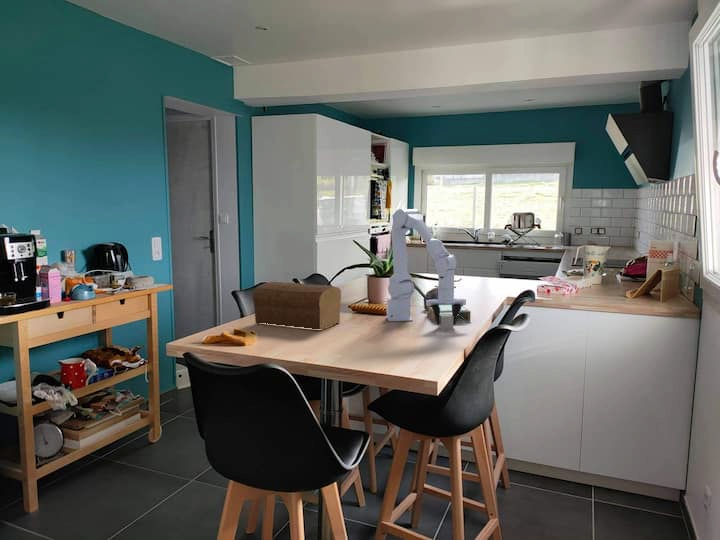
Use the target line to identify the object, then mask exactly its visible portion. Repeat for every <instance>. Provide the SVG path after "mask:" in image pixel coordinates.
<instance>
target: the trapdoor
mask: <svg viewBox="0 0 720 540" xmlns="http://www.w3.org/2000/svg"><path fill="white" fill-rule="evenodd" d="M442 304H443V303H442ZM464 307H465V306H463V307H462V306H461V310H460V311H459V312H467V310H466V309H467V308H466V307H465V308H466V309H465V308H464ZM439 308H440V314H452V305H439Z"/></svg>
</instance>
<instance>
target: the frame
mask: <svg viewBox="0 0 720 540" xmlns="http://www.w3.org/2000/svg"><path fill="white" fill-rule="evenodd" d="M461 306H462V307H464V308H465V309H466V310H467V312H459V313H458V314H459V315H458V316H460V317H461V318H462V317H463V318H464V319H463V318H462V319H463V320H465V321H466V322H467V321H470V322H471V317H472V316H471V313H472V312H471V310H469V309H468V308H466V307H465V306H464V305H461ZM426 314H427V317H428V318H429V319H430V320H431V321H432V322H433V323H435V322H436V318H435V315H434V312H433V310H432V307H431V305H430V306H427V309H426Z"/></svg>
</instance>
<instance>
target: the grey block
mask: <svg viewBox="0 0 720 540" xmlns="http://www.w3.org/2000/svg"><path fill="white" fill-rule="evenodd" d="M439 317H440V325H437V326H438V328H439V329H440V330H441V329H447V330H454V325H453V315H452V313H440V316H439Z"/></svg>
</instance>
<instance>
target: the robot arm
mask: <svg viewBox="0 0 720 540" xmlns="http://www.w3.org/2000/svg"><path fill="white" fill-rule="evenodd" d="M391 218H392V225H391V230H390V231H391V244H392V245H391V246H392V247H391V248H392V261H393V262H392V263H393V266H392V267H393V274H392V275H391V277H390V278H389V284H388V288H387V291H388V294H389V296H390V297H387V299H386V319H387V320H388V322H412V321H414V320H413V318H412V317H411V297H412V294H413V293H414V292H415V285H414V281H413V277H412V276H411V274H410V273H409V271H408V255H407V254H408V253H407V239H406V234H407V233H408V231H409V230H410V229H413V230H415V231H416V232H417V234H418V235H419V236H420V237H421V239H422V241H424V243H426V251H428V254H429V255H430V256H431V258H432V259H433V260H434V262H435V263H434V265H435V269H436V270H437V271H436V272H437V276H438V283H437V284H438V287H437V288H438V299H432V300H426V305H427V306H430V305H431V307H432V310H433V312H434V315H435V318H436V325H437V326H438V325H440V317H439V316H440V314H441V313H440V308H439V305H452V313H451V315H453V326H454V325H456V323H457V322H456V321H457V318H458V316H459V315H458V313H459V311H460V310H461V305H463V306H466V305H467V300H466V299H465V298H455V270H456V269H457V267H458V264H459V263H458V259H457V258H456V256H455V255H454V254H451V253H450V252H449V251H448V250H447V249H446V247H445V246H444V245H443V241H442V240H440V239H437V238H435V237H434V236H433V233H432V232H431V231H430V229H429V227H428V226H427V224H426V223H425V221H424V216H423V214H421V212H420V211H419V210H418V209H417V208H411V209H410V208H405V209H404V208H399V209H396V211H395V212H394V213H393V214H392V217H391ZM442 303H443V304H442Z"/></svg>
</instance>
